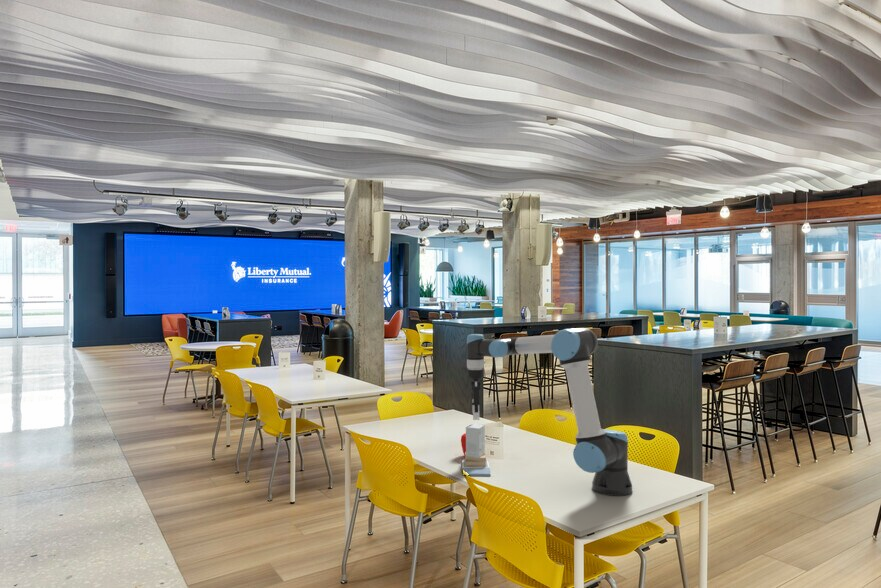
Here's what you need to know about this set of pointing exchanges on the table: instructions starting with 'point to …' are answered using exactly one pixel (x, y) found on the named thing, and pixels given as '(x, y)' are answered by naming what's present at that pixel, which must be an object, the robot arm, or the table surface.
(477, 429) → the small box
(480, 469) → the board
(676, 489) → the table surface
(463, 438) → the apple
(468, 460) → the plinth
